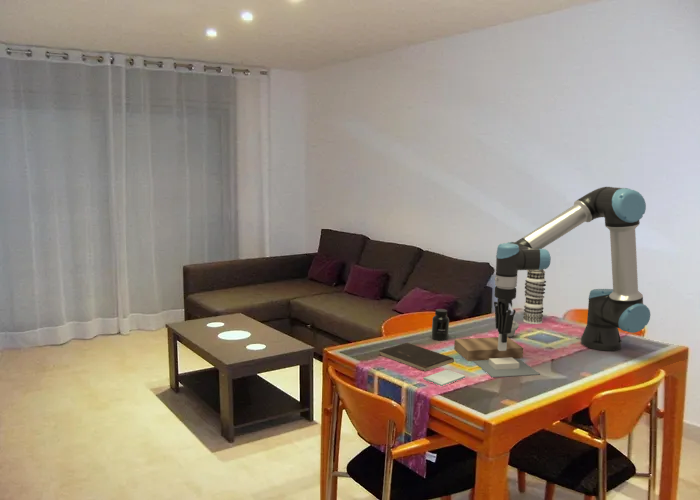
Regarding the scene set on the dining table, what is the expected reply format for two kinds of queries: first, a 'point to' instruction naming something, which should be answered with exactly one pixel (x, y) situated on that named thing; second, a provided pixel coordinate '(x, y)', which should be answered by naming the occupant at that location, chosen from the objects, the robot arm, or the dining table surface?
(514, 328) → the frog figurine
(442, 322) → the supplement bottle
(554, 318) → the dining table surface
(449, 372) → the hard drive
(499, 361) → the cream rectangular block
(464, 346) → the brown wooden block
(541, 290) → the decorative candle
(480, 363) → the mat
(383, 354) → the hardcover book
